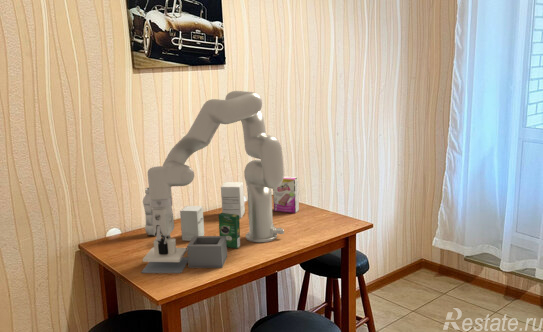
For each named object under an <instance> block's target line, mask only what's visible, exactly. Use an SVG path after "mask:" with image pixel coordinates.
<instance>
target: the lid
mask: <svg viewBox="0 0 543 332" xmlns="http://www.w3.org/2000/svg"><path fill="white" fill-rule="evenodd" d="M163 239H164V238H163ZM176 241H177V240H176V238H171V237H170V238H166V243H167V244H168V254H167V255H160V254H159V249H158V241H156V238H155V239H154V240H153V247H151V248H150V250H149V251H147V253H146V255H144V257H143V258H142V262H147V263H149V262H180V260H181V259H182V257H185V254H186V253H187V247H177V246H176V245H177V244H176Z"/></svg>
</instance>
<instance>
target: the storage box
mask: <svg viewBox="0 0 543 332" xmlns="http://www.w3.org/2000/svg"><path fill="white" fill-rule="evenodd" d="M186 248H187V251H186V253H187V257H188V263H187V265H188V268H190V269H192V268H195V269H196V268H198V269H200V268H201V269H202V268H204V269H207V268H208V269H211V268H213V269H217V268H219V269H223V267H224V265H225V263H226V262H227V261H226V260H227V258H228V247H227V243H226V236H219V235H203V236H194V237H193V238H192V240H191V241H189V242H188V244H187V245H186Z"/></svg>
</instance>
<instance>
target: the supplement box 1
mask: <svg viewBox="0 0 543 332" xmlns="http://www.w3.org/2000/svg"><path fill="white" fill-rule="evenodd" d="M203 209H204V208H203V206H202V205H186V206H184V207H183V208H182V209H181V210H180V211H179V212H180V213H179V216H180V228H181V240H182V241H188V242H190V241H191V240H192V238H193V237H194V236H205V225H204V224H205V223H204V210H203Z"/></svg>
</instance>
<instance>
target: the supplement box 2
mask: <svg viewBox="0 0 543 332" xmlns="http://www.w3.org/2000/svg"><path fill="white" fill-rule="evenodd" d="M220 195H221V196H220V197H221V210H222V212H221V213H227V214H235V215H239V219H242V218H243V216H244V214H245V213H246V211H245V192H244V182H243V181H225V182H224V183H223V184H222V185H221V186H220Z"/></svg>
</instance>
